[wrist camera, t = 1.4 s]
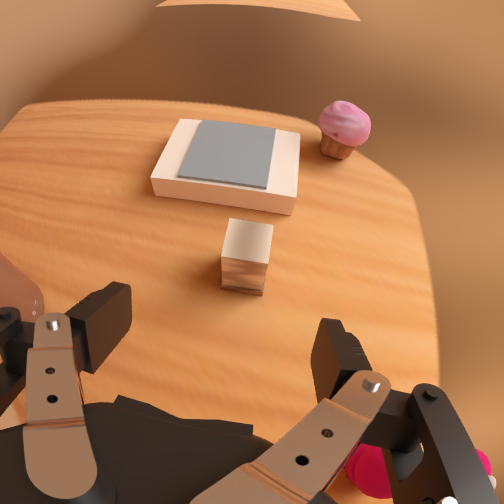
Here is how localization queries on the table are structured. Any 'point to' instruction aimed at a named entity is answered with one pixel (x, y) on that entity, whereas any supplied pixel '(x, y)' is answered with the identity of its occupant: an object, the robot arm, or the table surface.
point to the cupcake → (343, 129)
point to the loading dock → (230, 165)
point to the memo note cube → (245, 256)
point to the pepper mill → (382, 471)
